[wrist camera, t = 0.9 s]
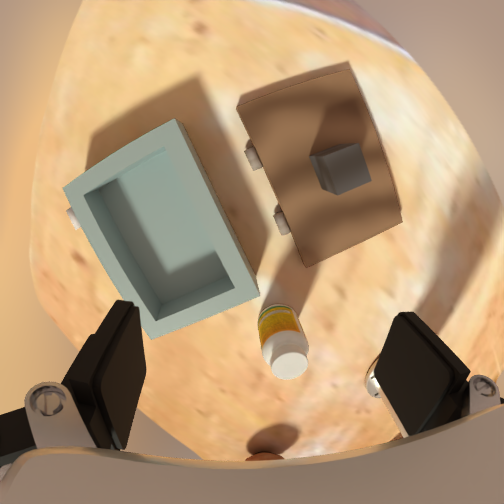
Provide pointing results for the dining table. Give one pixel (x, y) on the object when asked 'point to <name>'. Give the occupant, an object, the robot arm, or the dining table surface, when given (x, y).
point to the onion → (264, 457)
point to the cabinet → (162, 231)
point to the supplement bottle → (283, 341)
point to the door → (322, 164)
